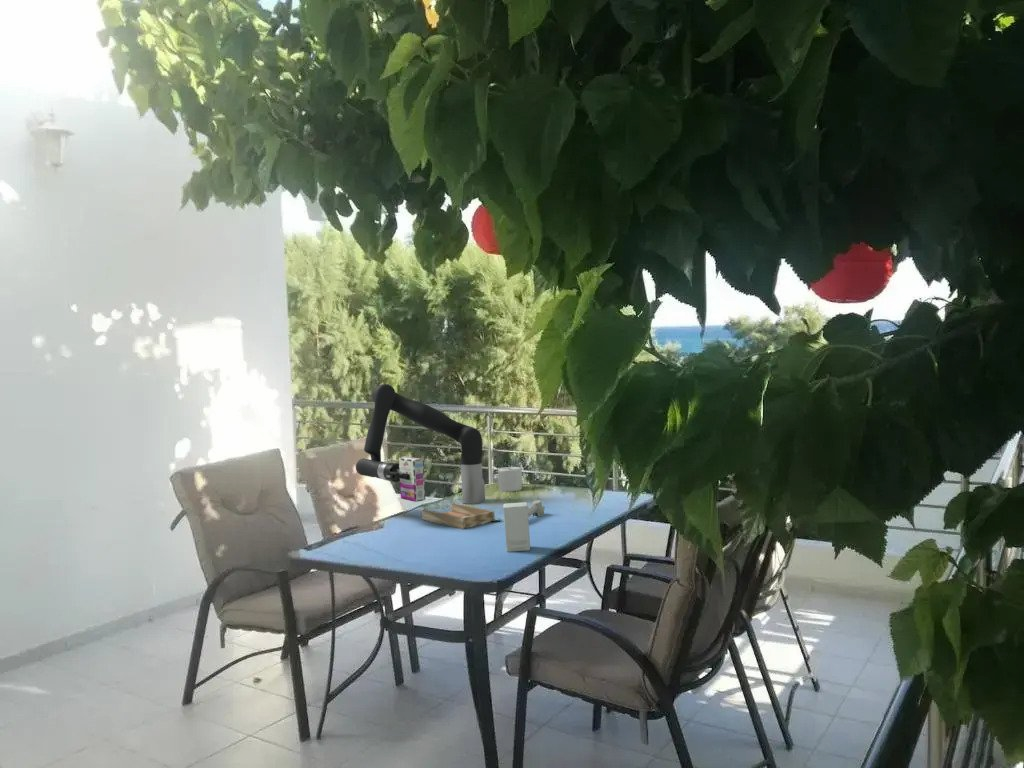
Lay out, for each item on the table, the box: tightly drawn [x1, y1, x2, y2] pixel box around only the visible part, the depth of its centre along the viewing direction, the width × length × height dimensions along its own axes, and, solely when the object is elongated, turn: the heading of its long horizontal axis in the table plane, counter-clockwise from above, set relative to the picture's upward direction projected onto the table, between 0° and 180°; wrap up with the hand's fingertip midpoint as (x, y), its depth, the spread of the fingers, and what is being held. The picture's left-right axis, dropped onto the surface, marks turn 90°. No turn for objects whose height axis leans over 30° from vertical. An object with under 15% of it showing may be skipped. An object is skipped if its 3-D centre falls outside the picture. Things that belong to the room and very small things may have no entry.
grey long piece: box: [527, 499, 545, 518], centre depth 323 cm, size 5×7×25 cm
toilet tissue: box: [497, 466, 523, 493], centre depth 388 cm, size 11×12×10 cm
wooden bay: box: [421, 502, 496, 530], centre depth 328 cm, size 16×26×4 cm, turn 43°
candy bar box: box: [398, 456, 426, 503], centre depth 324 cm, size 11×5×16 cm, turn 40°
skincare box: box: [503, 501, 531, 553], centre depth 280 cm, size 8×7×16 cm
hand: (415, 476), depth 322 cm, fingers closed on candy bar box, 5 cm apart
